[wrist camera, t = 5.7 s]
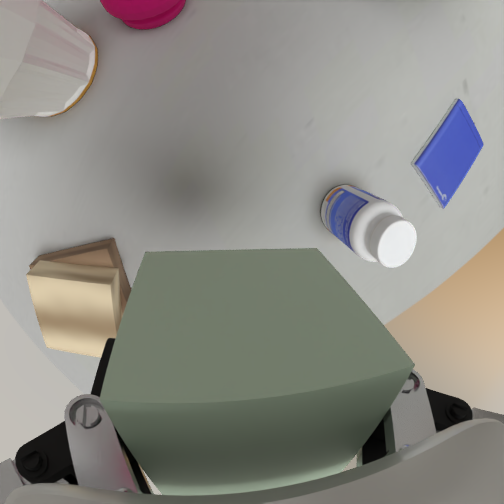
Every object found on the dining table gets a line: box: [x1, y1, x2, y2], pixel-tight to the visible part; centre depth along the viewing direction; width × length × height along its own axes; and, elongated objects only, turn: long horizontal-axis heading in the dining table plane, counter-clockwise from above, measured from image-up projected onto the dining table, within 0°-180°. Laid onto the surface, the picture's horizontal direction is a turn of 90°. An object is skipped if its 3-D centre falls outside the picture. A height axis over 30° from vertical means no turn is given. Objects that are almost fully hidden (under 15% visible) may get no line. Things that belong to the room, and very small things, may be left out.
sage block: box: [100, 248, 415, 496], centre depth 8 cm, size 6×6×6 cm
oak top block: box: [26, 260, 123, 357], centre depth 24 cm, size 9×9×3 cm
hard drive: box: [411, 99, 483, 209], centre depth 27 cm, size 2×8×12 cm
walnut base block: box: [29, 238, 131, 314], centre depth 26 cm, size 10×10×3 cm
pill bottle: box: [321, 185, 417, 268], centre depth 24 cm, size 5×5×10 cm
